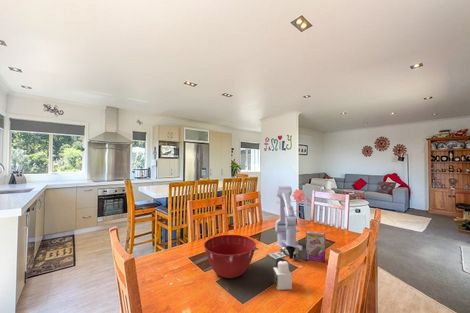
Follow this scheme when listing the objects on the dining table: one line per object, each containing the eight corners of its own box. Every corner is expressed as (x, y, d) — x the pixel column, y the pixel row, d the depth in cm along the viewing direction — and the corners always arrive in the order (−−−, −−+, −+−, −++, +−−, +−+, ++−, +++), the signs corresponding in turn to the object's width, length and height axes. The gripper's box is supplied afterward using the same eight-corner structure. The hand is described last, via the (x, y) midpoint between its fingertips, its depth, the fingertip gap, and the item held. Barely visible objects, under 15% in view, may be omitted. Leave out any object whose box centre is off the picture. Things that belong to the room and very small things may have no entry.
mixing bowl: (238, 294, 94) (238, 259, 94) (192, 275, 109) (192, 245, 110) (264, 268, 118) (264, 240, 118) (223, 256, 133) (223, 231, 134)
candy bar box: (305, 260, 128) (305, 233, 128) (305, 256, 132) (305, 230, 133) (325, 263, 124) (325, 235, 125) (324, 259, 129) (324, 232, 129)
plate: (278, 251, 140) (278, 251, 140) (287, 257, 132) (287, 256, 132) (265, 255, 134) (265, 254, 134) (275, 260, 127) (275, 260, 127)
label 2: (278, 252, 139) (278, 251, 139) (286, 256, 133) (286, 255, 133) (274, 253, 137) (274, 252, 137) (281, 257, 131) (281, 256, 131)
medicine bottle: (273, 281, 104) (273, 257, 104) (287, 281, 105) (286, 256, 105) (277, 290, 97) (277, 264, 97) (292, 289, 98) (291, 263, 98)
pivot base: (285, 251, 141) (285, 249, 141) (291, 254, 136) (291, 252, 136) (278, 253, 138) (278, 251, 138) (285, 256, 133) (285, 254, 133)
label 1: (273, 253, 136) (273, 252, 136) (280, 257, 130) (280, 256, 130) (268, 254, 134) (268, 254, 134) (276, 259, 128) (276, 258, 128)
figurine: (309, 229, 189) (309, 190, 191) (283, 224, 205) (283, 188, 207) (315, 226, 201) (314, 189, 203) (289, 221, 217) (289, 187, 219)
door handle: (281, 250, 138) (281, 246, 138) (285, 250, 139) (285, 245, 139) (295, 259, 125) (295, 254, 125) (299, 258, 127) (299, 253, 127)
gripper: (277, 234, 130) (277, 256, 130) (297, 240, 119) (297, 264, 119) (284, 231, 135) (284, 253, 134) (304, 238, 124) (304, 261, 123)
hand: (291, 258), depth 127 cm, fingers closed
